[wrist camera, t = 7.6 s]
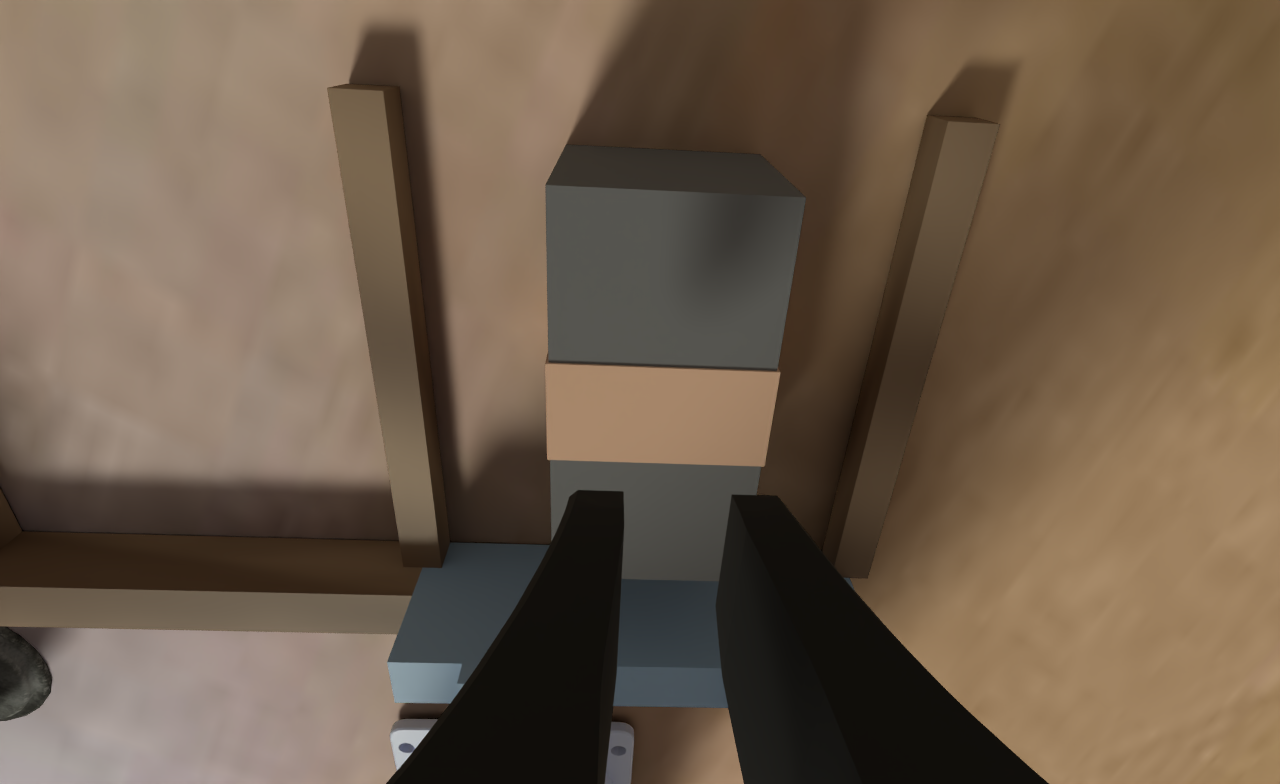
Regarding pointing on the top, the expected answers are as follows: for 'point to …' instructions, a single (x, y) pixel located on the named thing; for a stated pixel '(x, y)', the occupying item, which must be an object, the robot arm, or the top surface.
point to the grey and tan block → (665, 340)
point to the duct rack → (424, 556)
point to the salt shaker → (21, 677)
